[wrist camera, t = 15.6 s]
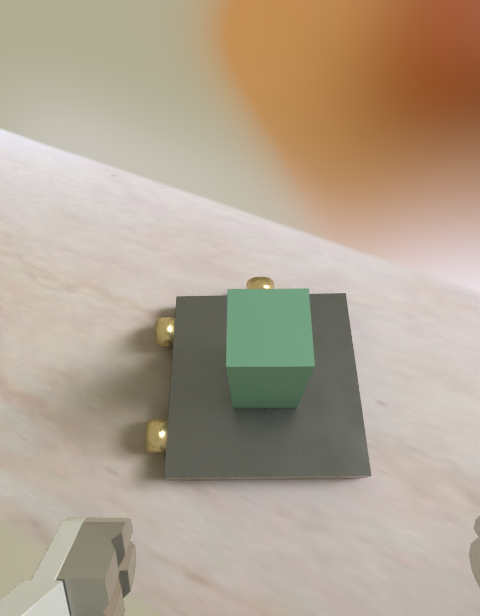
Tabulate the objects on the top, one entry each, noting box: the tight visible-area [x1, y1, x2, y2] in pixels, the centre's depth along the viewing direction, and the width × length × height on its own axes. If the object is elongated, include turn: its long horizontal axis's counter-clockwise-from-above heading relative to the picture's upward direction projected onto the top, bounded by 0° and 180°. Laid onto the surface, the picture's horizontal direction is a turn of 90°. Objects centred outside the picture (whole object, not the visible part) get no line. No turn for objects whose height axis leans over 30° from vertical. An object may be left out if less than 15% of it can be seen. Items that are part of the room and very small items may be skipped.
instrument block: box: [226, 289, 315, 408], centre depth 23 cm, size 4×5×8 cm
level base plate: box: [145, 277, 371, 480], centre depth 27 cm, size 13×13×2 cm
